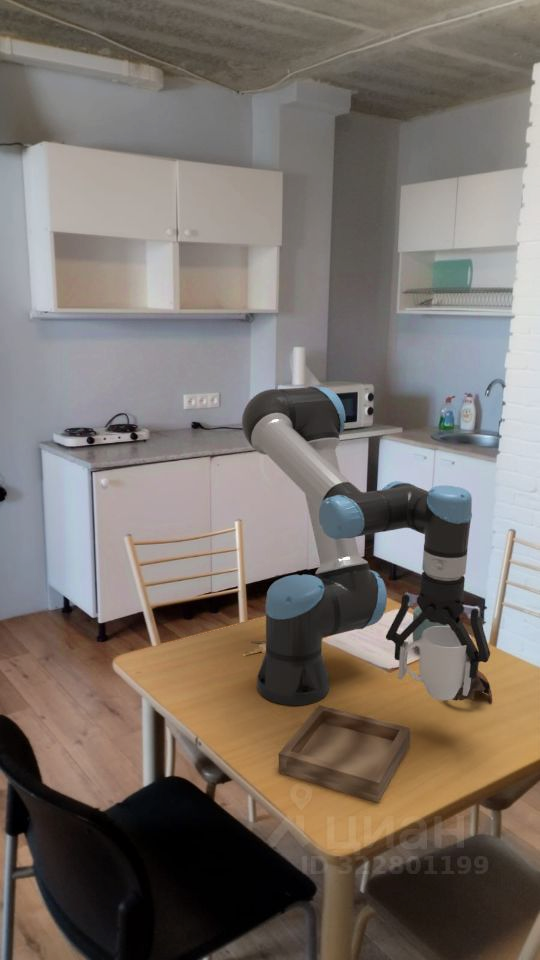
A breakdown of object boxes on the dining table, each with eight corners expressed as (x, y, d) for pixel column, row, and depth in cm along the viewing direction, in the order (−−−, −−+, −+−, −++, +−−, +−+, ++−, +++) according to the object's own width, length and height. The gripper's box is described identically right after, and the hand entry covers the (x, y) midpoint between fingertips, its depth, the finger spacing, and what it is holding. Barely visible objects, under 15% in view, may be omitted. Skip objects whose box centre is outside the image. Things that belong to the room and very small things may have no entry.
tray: (278, 772, 131) (278, 753, 130) (318, 722, 147) (319, 704, 146) (378, 802, 123) (379, 782, 122) (409, 746, 139) (410, 728, 138)
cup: (420, 640, 182) (422, 601, 180) (450, 649, 178) (453, 609, 176) (405, 652, 176) (407, 612, 174) (437, 661, 172) (439, 620, 169)
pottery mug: (500, 713, 152) (486, 684, 148) (455, 727, 154) (440, 699, 151) (488, 671, 162) (474, 644, 159) (446, 685, 165) (432, 658, 161)
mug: (462, 682, 145) (467, 625, 142) (469, 708, 137) (475, 649, 133) (400, 678, 146) (404, 622, 143) (403, 704, 138) (408, 645, 134)
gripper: (372, 567, 136) (365, 677, 142) (508, 594, 126) (495, 710, 132) (385, 555, 143) (378, 660, 148) (515, 579, 133) (502, 690, 138)
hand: (433, 683), depth 140 cm, fingers closed on mug, 11 cm apart
